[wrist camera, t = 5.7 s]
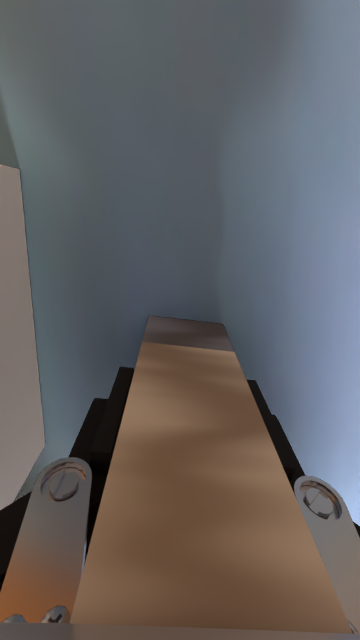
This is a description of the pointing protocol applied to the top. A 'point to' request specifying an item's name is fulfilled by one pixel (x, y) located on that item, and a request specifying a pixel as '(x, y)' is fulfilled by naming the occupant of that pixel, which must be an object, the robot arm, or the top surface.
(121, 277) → the top surface
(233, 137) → the top surface
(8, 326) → the walled box
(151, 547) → the peg
